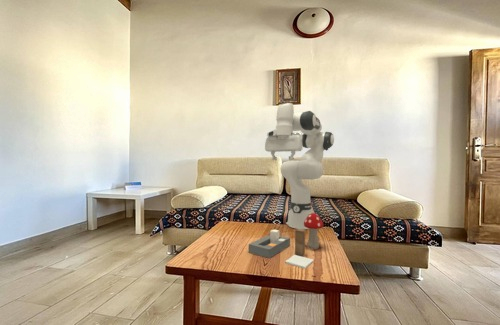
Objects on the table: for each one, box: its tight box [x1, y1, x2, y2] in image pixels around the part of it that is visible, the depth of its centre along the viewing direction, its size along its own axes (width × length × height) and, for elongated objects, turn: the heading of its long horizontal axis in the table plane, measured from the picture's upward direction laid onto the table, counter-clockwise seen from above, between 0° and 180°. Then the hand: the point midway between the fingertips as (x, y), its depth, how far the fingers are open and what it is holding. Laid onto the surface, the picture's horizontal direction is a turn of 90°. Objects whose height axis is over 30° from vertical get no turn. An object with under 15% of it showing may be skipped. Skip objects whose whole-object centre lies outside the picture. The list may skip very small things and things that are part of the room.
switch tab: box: [269, 229, 280, 243], centre depth 107 cm, size 3×3×5 cm
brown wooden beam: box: [294, 229, 306, 257], centre depth 97 cm, size 3×3×10 cm
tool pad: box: [285, 254, 314, 269], centre depth 90 cm, size 8×8×1 cm
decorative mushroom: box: [304, 212, 324, 250], centre depth 107 cm, size 10×9×15 cm
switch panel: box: [248, 234, 291, 259], centre depth 103 cm, size 18×10×4 cm, turn 144°
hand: (282, 160), depth 122 cm, fingers open, 8 cm apart
